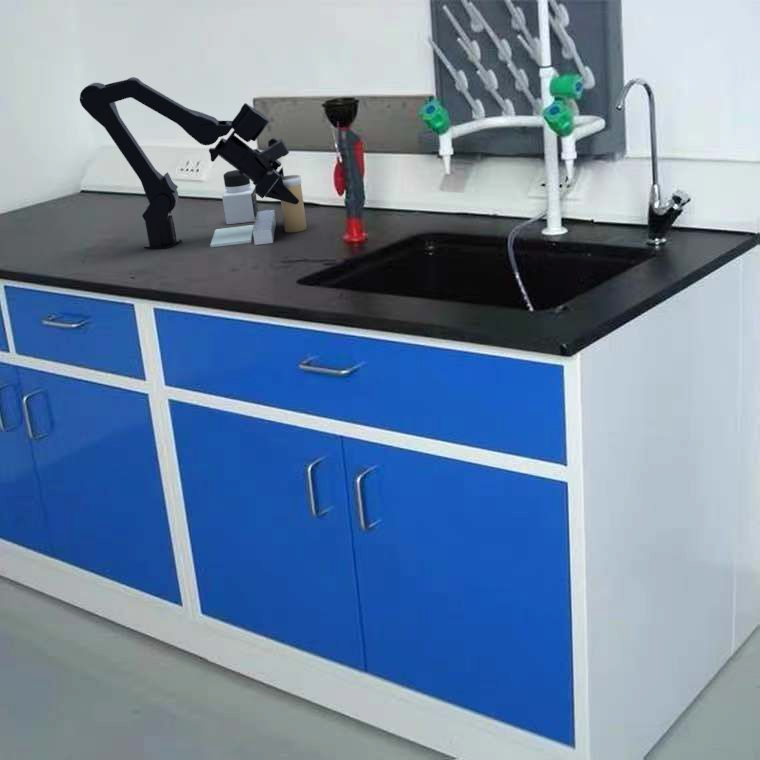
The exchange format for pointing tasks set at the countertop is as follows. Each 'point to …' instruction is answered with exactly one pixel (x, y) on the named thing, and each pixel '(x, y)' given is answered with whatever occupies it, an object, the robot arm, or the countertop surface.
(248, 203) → the medicine bottle
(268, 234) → the grey rectangular bar
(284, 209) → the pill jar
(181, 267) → the countertop surface
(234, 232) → the pad
